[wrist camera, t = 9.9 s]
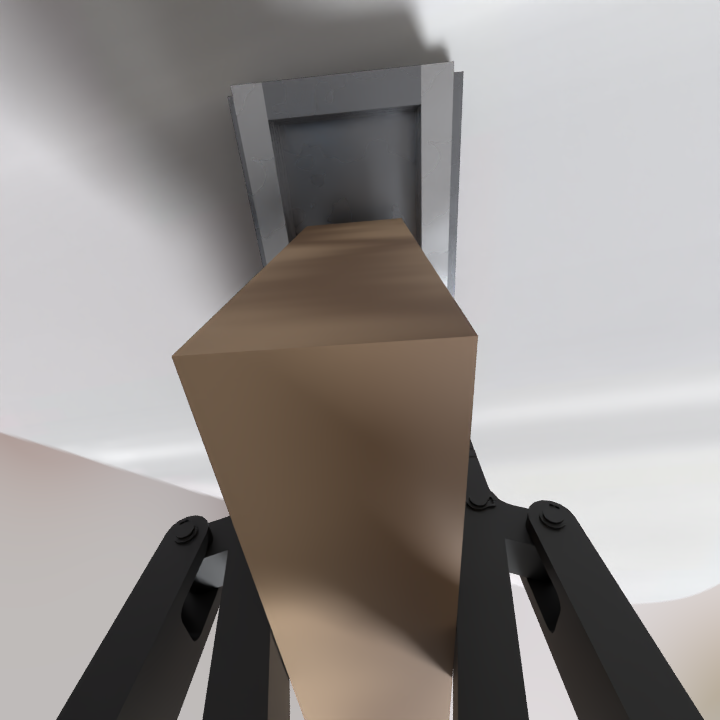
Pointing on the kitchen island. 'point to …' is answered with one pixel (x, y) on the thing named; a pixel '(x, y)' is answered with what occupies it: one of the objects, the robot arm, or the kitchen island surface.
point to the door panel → (345, 462)
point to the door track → (354, 154)
